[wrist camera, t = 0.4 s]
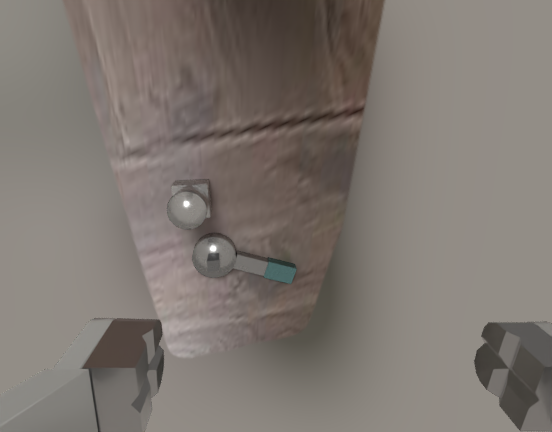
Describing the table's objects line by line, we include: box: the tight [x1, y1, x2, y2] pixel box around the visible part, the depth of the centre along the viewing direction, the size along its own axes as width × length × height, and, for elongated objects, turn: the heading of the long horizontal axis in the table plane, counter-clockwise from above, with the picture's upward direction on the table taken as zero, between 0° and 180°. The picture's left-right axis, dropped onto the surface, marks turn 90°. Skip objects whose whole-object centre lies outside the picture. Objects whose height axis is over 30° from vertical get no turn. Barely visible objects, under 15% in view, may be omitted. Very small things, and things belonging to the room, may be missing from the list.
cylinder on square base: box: [167, 179, 212, 229], centre depth 49 cm, size 5×5×9 cm
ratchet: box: [192, 233, 297, 284], centre depth 55 cm, size 18×7×6 cm, turn 72°
